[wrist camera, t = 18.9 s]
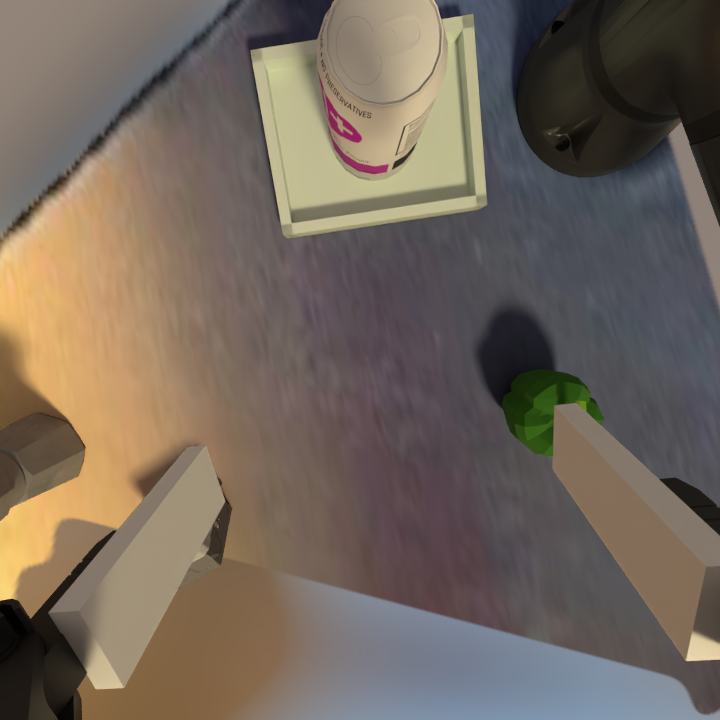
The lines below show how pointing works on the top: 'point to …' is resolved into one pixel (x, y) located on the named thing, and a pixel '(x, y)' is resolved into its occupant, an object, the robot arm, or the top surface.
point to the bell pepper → (543, 406)
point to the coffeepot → (36, 458)
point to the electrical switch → (210, 547)
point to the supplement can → (379, 80)
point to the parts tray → (345, 191)
